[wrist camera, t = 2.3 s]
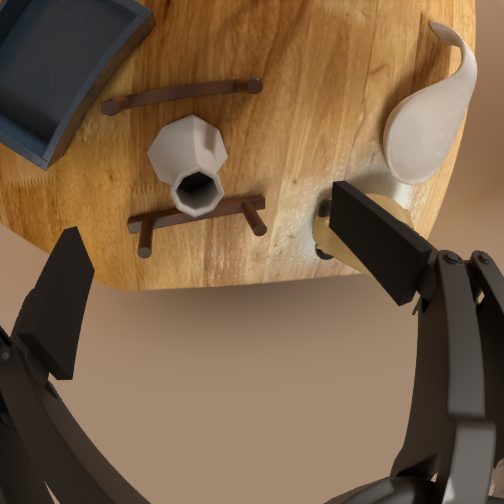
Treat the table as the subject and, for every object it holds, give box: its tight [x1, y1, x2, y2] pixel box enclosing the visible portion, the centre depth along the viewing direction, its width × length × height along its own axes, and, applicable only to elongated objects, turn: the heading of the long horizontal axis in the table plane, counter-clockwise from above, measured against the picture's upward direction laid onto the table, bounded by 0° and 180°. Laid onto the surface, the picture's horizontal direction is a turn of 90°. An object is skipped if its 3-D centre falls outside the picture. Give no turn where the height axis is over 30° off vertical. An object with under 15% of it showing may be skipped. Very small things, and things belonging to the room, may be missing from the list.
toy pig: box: [312, 194, 414, 279], centre depth 30 cm, size 10×12×11 cm
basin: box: [0, 0, 156, 171], centre depth 12 cm, size 15×15×5 cm
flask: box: [147, 114, 228, 218], centre depth 20 cm, size 7×7×10 cm
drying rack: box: [101, 78, 267, 258], centre depth 22 cm, size 14×13×6 cm
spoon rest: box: [383, 21, 477, 185], centre depth 23 cm, size 24×12×7 cm, turn 161°
